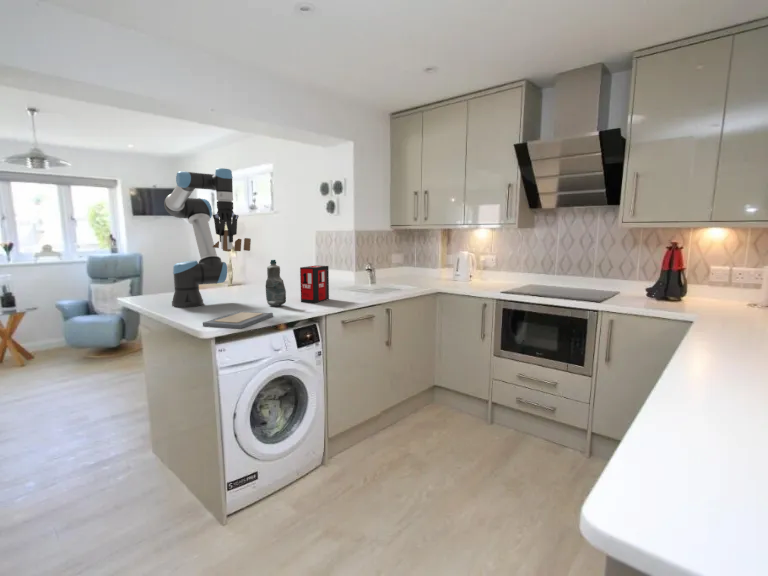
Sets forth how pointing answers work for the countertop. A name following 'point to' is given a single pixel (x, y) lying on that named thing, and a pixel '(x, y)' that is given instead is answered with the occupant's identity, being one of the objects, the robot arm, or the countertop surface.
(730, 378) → the countertop surface
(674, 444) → the countertop surface
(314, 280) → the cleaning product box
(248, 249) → the wooden block set
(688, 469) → the countertop surface
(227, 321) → the baseplate
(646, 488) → the countertop surface
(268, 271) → the detergent
